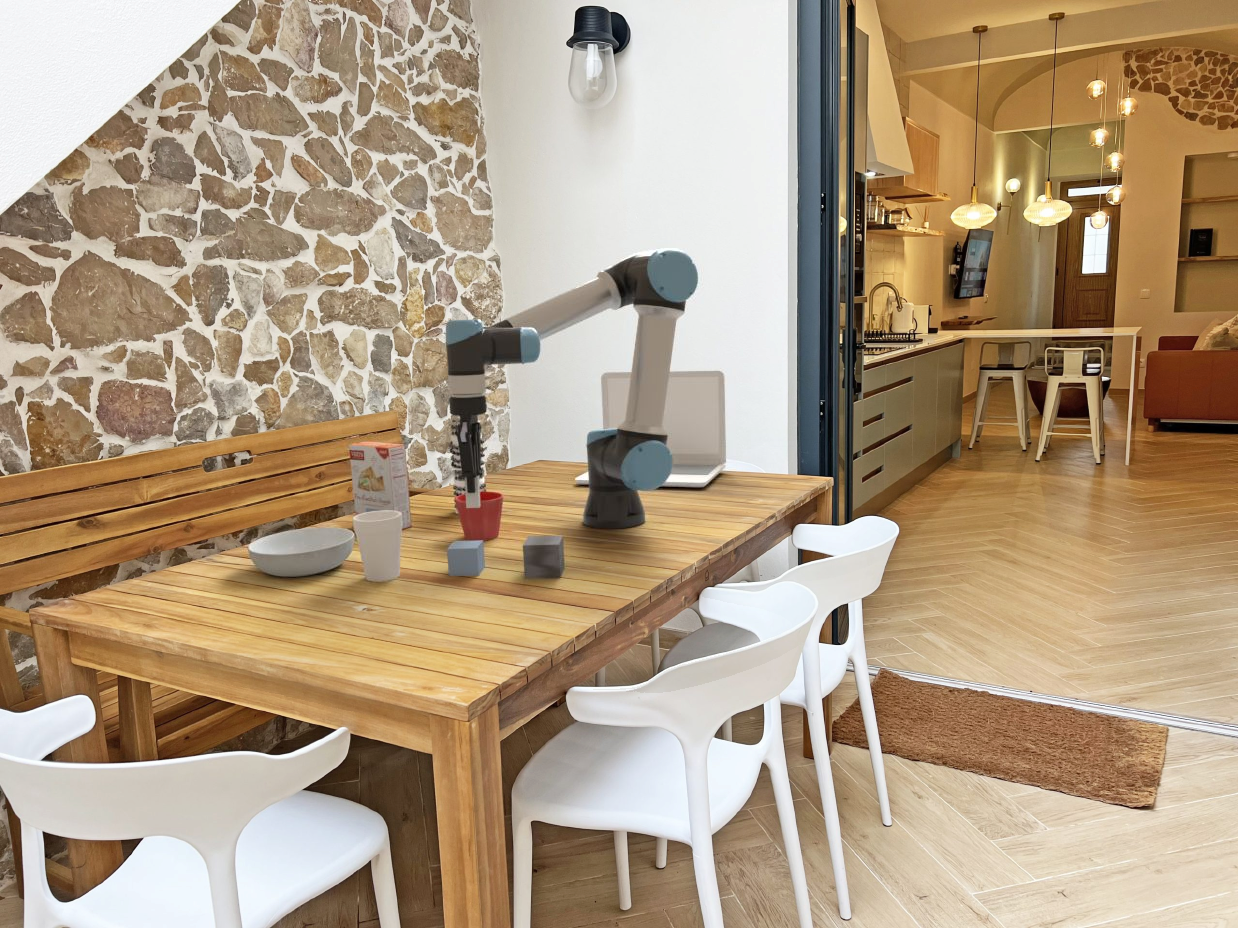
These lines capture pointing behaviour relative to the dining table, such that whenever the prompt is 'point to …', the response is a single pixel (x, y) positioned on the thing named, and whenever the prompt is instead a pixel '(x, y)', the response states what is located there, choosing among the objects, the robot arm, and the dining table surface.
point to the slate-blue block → (466, 558)
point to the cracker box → (380, 478)
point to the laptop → (679, 422)
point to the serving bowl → (302, 551)
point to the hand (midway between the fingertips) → (473, 507)
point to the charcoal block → (543, 557)
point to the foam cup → (379, 543)
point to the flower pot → (481, 516)
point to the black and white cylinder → (456, 464)
